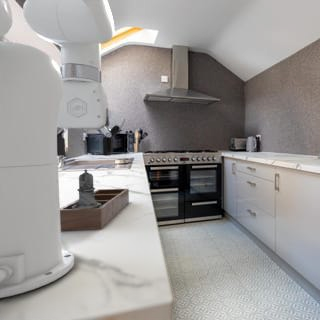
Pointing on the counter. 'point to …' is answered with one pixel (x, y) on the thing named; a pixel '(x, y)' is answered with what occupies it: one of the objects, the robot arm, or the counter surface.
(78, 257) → the counter surface
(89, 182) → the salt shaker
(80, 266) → the counter surface
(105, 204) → the divided wooden tray
